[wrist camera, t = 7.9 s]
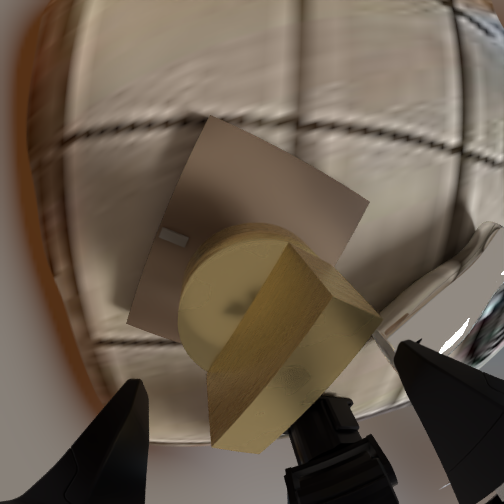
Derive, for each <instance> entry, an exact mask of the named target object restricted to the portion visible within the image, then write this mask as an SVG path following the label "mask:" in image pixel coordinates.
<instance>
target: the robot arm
mask: <svg viewBox="0 0 504 504" xmlns="http://www.w3.org/2000/svg"><path fill="white" fill-rule="evenodd" d="M394 365H395V367H396V370H397V372H398V374H399V377H400V379H401V381H402V384H403V386H404V389H405V391H406V393H407V396H408V398H409V400H410V401H411V403H412V405H413V407H414V409H415V411H416V413H417V415H418V416H419V418H420V420H421V422H422V424H423V426H424V428H425V430H426V432H427V434H428V436H429V438H430V440H431V442H432V444H433V446H434V448H435V450H436V453H437V455H438V457H439V459H440V461H441V463H442V465H443V468H444V470H445V472H446V474H447V476H448V479H449V481H450V483H451V486H452V488H453V490H454V493H455V495H456V497H457V500H458V502H459V504H476V503H478V502H479V501H481V500H482V499H483V498H485V497H486V496H488V495H489V494H490V493H491V492H493V491H494V490H495V491H496V493H497V494H496V495H495V496H493V498H491V499H490V500H489V501H488V502H487V503H486V504H504V380H502V379H499V378H497V377H494V376H492V375H489V374H487V373H485V372H482V371H480V370H478V369H475V368H473V367H471V366H469V365H466V364H464V363H462V362H459V361H457V360H455V359H453V358H450V357H448V356H446V355H443V354H441V353H439V352H437V351H434V350H432V349H430V348H428V347H425V346H423V345H421V344H419V343H416V342H414V341H412V340H409V339H408V340H404V341H401V342H400V343H399V344H398V347H397V350H396V353H395V355H394ZM352 405H353V401H352V400H351V399H343V398H334V397H326V396H320V397H319V398H318V399H317V400H316V401H315V402H314V403H313V404H312V405H311V406H310V407H309V408H308V409H307V410H306V411H305V412H304V413H303V414H302V415H301V416H300V417H299V418H298V419H297V420H296V421H295V422H294V423H293V424H292V425H291V426H290V427H289V428H288V429H287V430H286V431H285V432H284V433H282V434H289V437H290V440H291V443H292V446H293V449H294V453H295V456H296V459H297V462H298V466H296V467H293V468H291V467H290V468H287V469H285V471H286V475H285V476H284V479H285V483H286V486H287V499H288V504H399V501H398V499H397V497H396V494H395V492H394V490H393V487H394V486H395V485H397V484H398V482H397V478H396V475H395V473H394V471H393V468H392V466H391V464H390V462H389V461H388V459H387V457H386V456H385V454H384V453H383V451H382V450H381V448H380V447H379V445H378V443H377V442H376V440H375V439H374V437H373V436H372V434H370V435H368V436H366V438H363V439H362V438H361V436H360V434H359V432H358V429H359V425H358V423H357V421H356V419H355V417H354V415H353V413H352V411H351V409H350V407H351V406H352ZM148 449H149V399H148V395H147V392H146V390H145V387H144V385H143V382H142V380H141V379H129V380H127V381H126V383H125V384H124V385H123V386H122V387H121V388H120V390H119V391H118V392H117V393H116V394H115V395H114V397H113V398H112V399H111V400H110V401H109V402H108V404H107V405H106V406H105V407H104V408H103V409H102V411H101V412H100V413H99V414H98V415H97V416H96V418H95V419H94V420H93V421H92V422H91V424H90V425H89V426H88V427H87V428H86V429H85V431H84V432H83V433H82V434H81V435H80V437H79V438H78V439H77V440H76V441H75V442H74V444H73V445H72V446H71V448H69V449H68V451H67V452H66V453H65V454H64V455H63V456H62V458H61V459H60V460H59V461H58V462H57V463H56V464H55V465H54V466H53V467H52V468H51V469H50V470H49V471H48V472H47V473H46V474H45V475H44V476H43V477H42V478H41V479H40V480H39V481H37V482H36V483H35V484H34V485H33V486H32V487H31V488H30V489H29V490H28V491H26V492H25V493H24V494H23V495H21V496H20V497H18V498H16V499H13V500H9V501H2V502H0V504H145V488H146V473H147V459H148ZM370 456H371V457H370Z"/></svg>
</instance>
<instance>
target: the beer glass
mask: <svg viewBox="0 0 504 504" xmlns="http://www.w3.org/2000/svg"><path fill="white" fill-rule="evenodd" d="M503 284H504V227H503V226H501V225H499V224H497V223H495V222H491V221H487V222H483V223H482V224H480V225H479V227H478V228H477V229H476V231H475V233H474V234H473V236H472V238H471V239H470V241H469V242H468V244H467V245H466V246H465V247H464V248H463V249H462V250H461V251H460V252H459V253H458V254H457V255H455V256H454V257H452V258H451V259H449V260H448V261H446V262H445V263H443V264H442V265H440V266H438V267H437V268H435V269H434V270H432V271H430V272H429V273H427V274H426V275H424V276H423V277H422V278H420V279H419V280H417V281H416V282H414V283H413V284H412V285H411V286H409V287H408V288H407V289H406V290H404V291H403V292H402V293H401V294H400V295H399V296H398V297H397V298H395V299H394V300H393V301H392V302H391V303H390V304H389V305H388V306H387V307H386V308H384V309H383V310H382V311H381V312H380V313H379V315H380V316H381V317H382V318H383V321H382V322H381V324H380V325H379V326H378V328H377V329H376V330H375V332H374V333H373V334H372V337H373V338H374V340H375V342H376V344H377V345H378V347H379V349H380V350H381V352H382V353H383V355H384V356H385V358H386V359H387V361H388V362H389V363H390V365H391V366H392V367H393V369H394V370H395V371H396V372H397V370H396V367H395V365H394V355H395V353H396V350H397V347H398V344H399V343H400V342H401V341H404V340H408V339H409V340H412V341H414V342H416V343H419V344H421V345H423V346H425V347H428V348H430V349H432V350H434V351H437V352H439V353H441V354H443V355H446V356H449V355H450V354H451V353H452V352H453V351H454V350H455V349H456V348H457V347H458V346H459V345H460V344H461V343H462V341H463V340H464V339H465V338H466V336H467V335H468V334H469V332H470V331H471V330H472V328H473V327H474V325H475V324H476V322H477V321H478V319H479V318H480V316H481V315H482V313H483V311H484V310H485V308H486V306H487V305H488V303H489V302H490V300H491V299H492V297H493V296H494V294H495V293H496V292H497V290H498V289H500V287H501V286H502V285H503ZM397 374H398V372H397ZM398 375H399V374H398Z"/></svg>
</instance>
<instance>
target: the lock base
mask: <svg viewBox="0 0 504 504" xmlns="http://www.w3.org/2000/svg"><path fill="white" fill-rule="evenodd" d="M368 204H369V201H368V200H366V199H365V198H363V197H362V196H360V195H359V194H357V193H355V192H354V191H352V190H351V189H349V188H347V187H346V186H344V185H343V184H341V183H339V182H338V181H336V180H334V179H333V178H331V177H329V176H328V175H326V174H324V173H323V172H321V171H319V170H318V169H316V168H314V167H312V166H311V165H309V164H307V163H305V162H303V161H302V160H300V159H298V158H296V157H294V156H293V155H291V154H289V153H287V152H285V151H283V150H281V149H280V148H278V147H276V146H274V145H272V144H270V143H268V142H266V141H264V140H262V139H260V138H258V137H256V136H254V135H252V134H250V133H248V132H246V131H244V130H242V129H240V128H238V127H235V126H233V125H231V124H229V123H227V122H225V121H222V120H220V119H218V118H216V117H213V116H211V115H210V116H209V118H208V120H207V122H206V124H205V126H204V128H203V130H202V132H201V134H200V136H199V138H198V140H197V142H196V144H195V146H194V148H193V150H192V152H191V154H190V157H189V159H188V161H187V163H186V165H185V167H184V170H183V172H182V174H181V176H180V178H179V181H178V183H177V185H176V188H175V190H174V192H173V195H172V197H171V199H170V202H169V204H168V206H167V209H166V211H165V214H164V216H163V219H162V221H161V224H160V226H159V229H158V231H157V234H156V237H155V239H154V242H153V245H152V247H151V250H150V253H149V255H148V258H147V261H146V264H145V267H144V270H143V272H142V275H141V278H140V281H139V284H138V287H137V290H136V293H135V297H134V300H133V303H132V306H131V309H130V313H129V316H128V319H127V323H126V324H129V325H131V326H134V327H136V328H139V329H142V330H144V331H147V332H150V333H153V334H155V335H158V336H161V337H164V338H167V339H170V340H173V341H176V342H179V343H182V342H181V340H180V336H179V332H178V310H179V303H180V295H181V288H182V281H183V276H184V272H185V269H186V267H187V264H188V262H189V260H190V259H191V257H192V255H193V254H194V253H195V251H196V250H197V249H198V248H199V247H200V246H201V245H202V244H203V243H204V242H205V241H206V240H207V239H209V238H210V237H211V236H213V235H214V234H216V233H218V232H220V231H221V230H223V229H226V228H229V227H231V226H235V225H239V224H243V223H268V224H273V225H277V226H280V227H282V228H285V229H287V230H289V231H291V232H292V233H294V234H296V235H297V236H298V237H299V238H300V239H302V240H303V241H304V242H305V243H306V244H307V245H308V246H309V247H310V248H311V249H312V250H313V251H314V253H315V254H316V255H317V256H318V257H319V258H320V259H322V260H324V261H326V262H328V263H330V264H331V265H332V266H333V267H334V266H335V265H336V263H337V261H338V259H339V258H340V256H341V254H342V252H343V251H344V249H345V247H346V245H347V243H348V242H349V240H350V238H351V236H352V234H353V233H354V231H355V229H356V227H357V225H358V223H359V222H360V220H361V218H362V216H363V214H364V212H365V210H366V208H367V206H368Z"/></svg>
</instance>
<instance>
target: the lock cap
mask: <svg viewBox="0 0 504 504" xmlns="http://www.w3.org/2000/svg"><path fill="white" fill-rule="evenodd" d="M382 321H383V318H382V317H381V316H380V315H379V314H378V313H377V312H376V311H375V310H374V309H373V308H372V307H371V306H370V305H369V303H368V302H367V301H366V300H365V299H364V298H363V297H362V296H361V295H360V294H359V293H358V292H357V291H356V290H355V289H354V288H353V287H352V286H351V285H350V284H349V282H348V281H347V280H346V279H345V278H344V277H343V276H342V275H341V274H340V273H339V272H338V271H337V270H336V269H335V268H334V267H333V266H332V265H331V264H330V263H328V262H326V261H324V260H322V259H320V258H319V257H318V256H317V255H316V254H315V253H314V251H313V250H312V249H311V248H310V247H309V246H308V245H307V244H306V243H305V242H304V241H303V240H302V239H300V238H299V237H298V236H297V235H296V234H294V233H292V232H291V231H289V230H287V229H285V228H282V227H280V226H277V225H273V224H268V223H243V224H239V225H235V226H231V227H229V228H226V229H223V230H221V231H220V232H218V233H216V234H214V235H213V236H211V237H210V238H209V239H207V240H206V241H205V242H204V243H203V244H202V245H201V246H200V247H199V248H198V249H197V250H196V251H195V253H194V254H193V255H192V257H191V259H190V260H189V262H188V264H187V267H186V269H185V272H184V276H183V281H182V288H181V295H180V303H179V310H178V332H179V336H180V340H181V342H182V345H183V347H184V349H185V350H186V352H187V353H188V355H189V356H190V358H191V359H192V360H193V361H194V362H195V363H196V364H197V365H198V366H200V367H201V368H202V369H204V370H205V371H207V372H208V373H207V392H208V408H209V423H210V435H211V447H213V448H219V449H225V450H231V451H238V452H246V453H255V454H260V453H261V452H262V451H263V450H265V449H266V448H267V447H268V446H269V445H270V444H271V443H273V442H274V441H275V440H276V439H277V438H278V437H279V436H280V435H281V434H282V433H284V432H285V431H286V430H287V429H288V428H289V427H290V426H291V425H292V424H293V423H294V422H295V421H296V420H297V419H298V418H299V417H300V416H301V415H302V414H303V413H304V412H305V411H306V410H307V409H308V408H309V407H310V406H311V405H312V404H313V403H314V402H315V401H316V400H317V399H318V398H319V397H320V396H321V395H322V394H323V393H324V391H325V390H326V389H327V388H328V387H329V386H330V385H331V384H332V383H333V382H334V380H335V379H336V378H337V377H338V376H339V375H340V374H341V372H342V371H343V370H344V369H345V368H346V367H347V365H348V364H349V363H350V362H351V361H352V359H353V358H354V357H355V356H356V355H357V353H358V352H359V351H360V350H361V348H362V347H363V346H364V345H365V343H366V342H367V341H368V339H369V338H370V337H371V336H372V334H373V333H374V332H375V330H376V329H377V328H378V326H379V325H380V324H381V322H382Z"/></svg>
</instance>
